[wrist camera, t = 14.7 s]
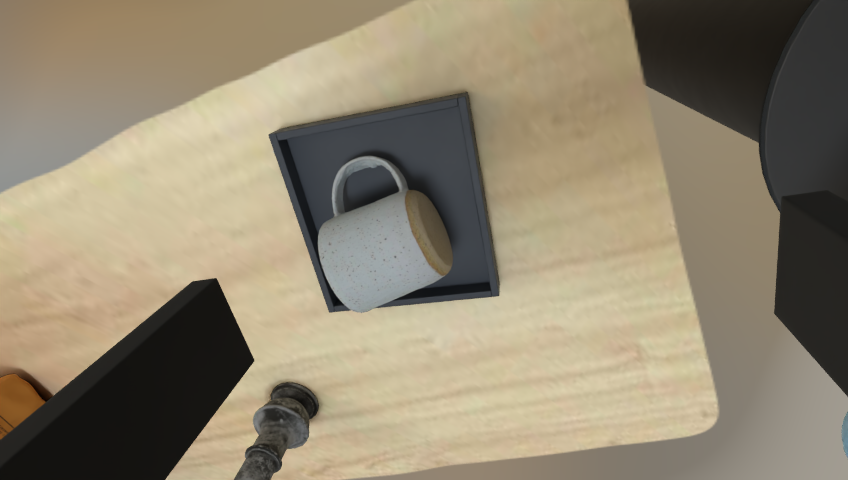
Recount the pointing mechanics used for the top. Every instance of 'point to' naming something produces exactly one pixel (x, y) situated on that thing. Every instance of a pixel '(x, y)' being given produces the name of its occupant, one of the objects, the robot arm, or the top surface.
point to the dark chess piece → (278, 430)
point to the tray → (423, 171)
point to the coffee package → (16, 402)
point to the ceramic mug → (382, 243)
